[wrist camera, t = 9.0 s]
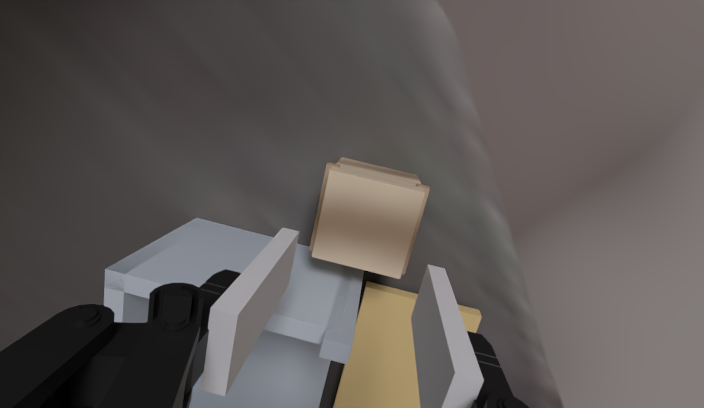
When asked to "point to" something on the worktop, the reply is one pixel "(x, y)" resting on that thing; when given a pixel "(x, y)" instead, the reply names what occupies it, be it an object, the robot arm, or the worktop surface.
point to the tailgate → (386, 351)
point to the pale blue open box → (280, 331)
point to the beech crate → (368, 217)
